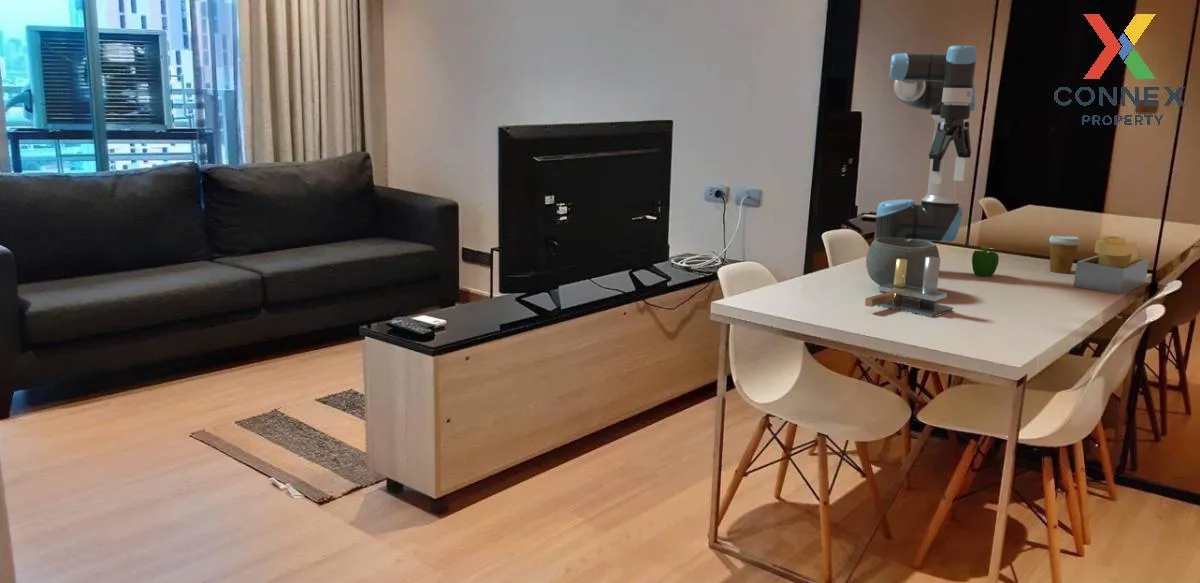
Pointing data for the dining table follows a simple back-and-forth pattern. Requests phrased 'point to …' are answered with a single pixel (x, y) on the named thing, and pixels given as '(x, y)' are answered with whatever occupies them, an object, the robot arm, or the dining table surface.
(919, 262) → the bowl
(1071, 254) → the disposable coffee cup
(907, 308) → the grey lever block
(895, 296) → the gold rounded cylinder
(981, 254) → the bell pepper
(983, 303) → the dining table surface
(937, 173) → the robot arm
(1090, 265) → the grey open-top box
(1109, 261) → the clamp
